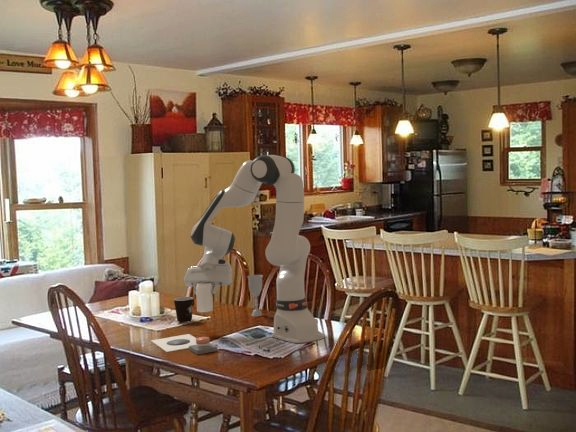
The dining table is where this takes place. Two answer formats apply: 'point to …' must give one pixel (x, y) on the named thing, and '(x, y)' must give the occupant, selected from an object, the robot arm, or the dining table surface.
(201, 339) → the button
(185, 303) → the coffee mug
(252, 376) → the dining table surface
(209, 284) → the can
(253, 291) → the chalice
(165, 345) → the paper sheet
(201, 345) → the button base
